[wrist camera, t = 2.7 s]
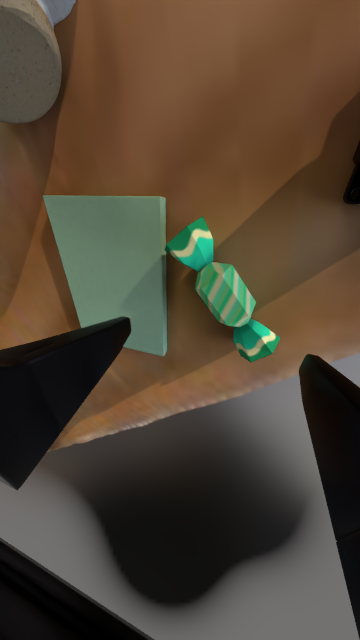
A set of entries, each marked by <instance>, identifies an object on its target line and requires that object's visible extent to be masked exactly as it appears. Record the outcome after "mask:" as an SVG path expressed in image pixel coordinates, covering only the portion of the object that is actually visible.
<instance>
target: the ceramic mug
mask: <svg viewBox="0 0 360 640" xmlns="http://www.w3.org/2000/svg"><path fill="white" fill-rule="evenodd" d="M75 2H76V0H0V122H4V123H8V124H22V123H28V122H32V121H34V120H37V119H38V118H40V117H42V116H43V115H45V114H46V113H47V112H48V110H49V109H50V108H51V107H52V105H53V104H54V102H55V100H56V98H57V96H58V93H59V90H60V85H61V77H62V62H61V55H60V50H59V46H58V43H57V39H56V36H55V33H54V25H56V24H57V23H58V22H60V21H62V20H63V19H65V18H66V17H67V16H68V15H69V14H70V12H71V10H72V7H73V5H74V4H75Z"/></svg>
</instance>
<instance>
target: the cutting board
mask: <svg viewBox="0 0 360 640" xmlns="http://www.w3.org/2000/svg"><path fill="white" fill-rule="evenodd" d="M43 199H44V202H45V206H46V209H47V212H48V216H49V219H50V223H51V226H52V229H53V233H54V236H55V240H56V243H57V247H58V250H59V253H60V257H61V260H62V264H63V267H64V270H65V274H66V277H67V281H68V284H69V287H70V291H71V294H72V298H73V301H74V304H75V308H76V311H77V315H78V318H79V321H80V325H81V328H84V327H87V326H90V325H94V324H97V323H101V322H104V321H108V320H111V319H114V318H118V317H121V316H125V317H129V318H130V322H131V334H130V336H129V337H128V339H127V341H126V342H125V344H124V346H123V347H126V348H130V349H134V350H138V351H142V352H147V353H151V354H155V355H159V356H164V355H165V353H166V351H167V297H166V251H165V250H164V249H165V247H166V199H165V198H164V197H160V196H49V195H43Z"/></svg>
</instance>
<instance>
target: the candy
mask: <svg viewBox="0 0 360 640" xmlns="http://www.w3.org/2000/svg"><path fill="white" fill-rule="evenodd" d="M164 250H165V251H166V252H168V253H169V254H170V255H172V256H173V257H174V258H176V259H177V260H178V261H180V262H181V263H182V264H184V265H186V266H188V267H190V268H192V269H194V270H196V271H198V274H197V280H196V285H195V290H196V292H197V293H198V294H199V296H200V297H201V298H202V300H203V301H204V303H205V304H206V305H207V307H208V308H209V310H210V311H211V312H212V314H213V315H214V316H215V318H216V319H217V321H218V322H220V323H223V324H225V325H227V326H234V340H233V341H234V343H235V345H236V347H237V349H238V351H239V353H240V355H241V356H242V357H244V358H245V359H247V360H248V361H250V362H253V361H256V360H258V359H260V358H263V357H265V356H268V355H270V354H273V352H274V350H275V348H276V346H277V344H278V342H279V340H280V337H278V336H277V335H276V334H274V333H273V332H272V331H270V330H269V329H268V328H266V327H265V326H263V325H262V324H260V323H259V322H257V321H255V320H253V319H251V318H250V317H251V314H252V312H253V309H254V307H255V304H256V301H255V300H254V298H253V297H252V295H251V294H250V292H249V291H248V289H247V287H246V286H245V284H244V283H243V281H242V280H241V278H240V277H239V275H238V273H237V272H236V270H235V269H234V267H233V266H232V265H231V264H224V263H217V262H213V238H212V235H211V233H210V231H209V229H208V227H207V224H206V222H205V220H204V218H203V216H202V217H201V218H199V219H198V220H196V221H194V222H193V223H191V224H190V225H188V226H187V227H186V228H184V229H183V230H182V231H181V232H180V233H179V234H178V235H177V236H175V237H174V238H173V239H172V240H171V241H170V242H169V243H168V244H166V247H165V249H164Z"/></svg>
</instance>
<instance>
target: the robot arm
mask: <svg viewBox="0 0 360 640" xmlns="http://www.w3.org/2000/svg"><path fill="white" fill-rule="evenodd" d="M353 162H354V164H355V168H354V170H353V173H352V175H351V178H350V180H349V183H348V185H347V188H346V190H345V193H344V196H343V200H344V202H345V203H347V204H360V141H359V144H358V147H357V149H356V152H355V154H354V157H353ZM354 190H358V195H357V197H356V198H354V199H352V197H351V194H352V192H353V191H354ZM130 334H131V322H130V318H129V317H125V316H121V317H118V318H114V319H111V320H108V321H104V322H101V323H97V324H94V325H90V326H87V327H84V328H80V329H77V330H73V331H70V332H67V333H63V334H60V335H56V336H53V337H49V338H46V339H42V340H39V341H35V342H31V343H27V344H23V345H19V346H15V347H11V348H6V349H2V350H0V481H1V482H3V483H5V484H7V485H8V486H10V487H12V488H14V489H16V490H18V489H19V488H20V487H21V486H22V484H23V483H24V482H25V480H26V479H27V478H28V476H29V475H30V474H31V472H32V471H33V470H34V468H35V467H36V466H37V464H38V463H39V462H40V460H41V459H42V457H43V456H44V455H45V453H46V452H47V451H48V449H49V448H50V447H51V445H52V444H53V443H54V441H55V440H56V438H57V437H58V436H59V434H60V433H61V432H62V430H63V428H64V427H65V426H66V425H67V423H68V422H69V421H70V419H71V418H72V417H73V415H74V414H75V413H76V411H77V410H78V409H79V407H80V406H81V404H82V403H83V402H84V400H85V399H86V398H87V396H88V395H89V394H90V392H91V391H92V390H93V388H94V387H95V385H96V384H97V383H98V381H99V380H100V379H101V377H102V376H103V375H104V373H105V372H106V371H107V369H108V368H109V367H110V365H111V364H112V362H113V361H114V360H115V358H116V357H117V356H118V354H119V353H120V351H121V349H122V348H123V346H124V344H125V342H126V341H127V339H128V337H129V336H130ZM299 376H300V385H301V394H302V402H303V406H304V411H305V415H306V419H307V423H308V428H309V432H310V435H311V440H312V444H313V448H314V452H315V457H316V460H317V465H318V469H319V473H320V477H321V481H322V485H323V489H324V494H325V497H326V502H327V506H328V510H329V514H330V518H331V522H332V527H333V531H334V535H335V539H336V541H337V542H336V544H337V548H338V552H339V556H340V560H341V564H342V569H343V573H344V577H345V581H346V585H347V589H348V593H349V597H350V601H351V606H352V610H353V614H354V618H355V622H356V626H357V630H358V634H359V638H360V388H359V387H358V386H357V385H356V384H354V383H353V382H352V381H350V380H349V379H348V378H346V377H345V376H344V375H342V374H341V373H340V372H338V371H337V370H336V369H335V368H333V367H332V366H330V365H329V364H328V363H327V362H325V361H324V360H323V359H322V358H320V357H319V356H316V355H311V354H307V355H306V356H305V358H304V360H303V362H302V364H301V366H300V368H299ZM0 640H154V639H153V638H151V637H150V636H148V635H147V634H145V633H144V632H142V631H141V630H139V629H137V628H136V627H134V626H133V625H132V624H130V623H129V622H127V621H126V620H124V619H122V618H121V617H119V616H118V615H116V614H115V613H113V612H112V611H110V610H109V609H107V608H106V607H104V606H103V605H101V604H100V603H98V602H97V601H95V600H94V599H92V598H91V597H89V596H88V595H86V594H85V593H83V592H82V591H80V590H79V589H77V588H76V587H74V586H73V585H71V584H70V583H68V582H67V581H65V580H63V579H62V578H60V577H59V576H57V575H56V574H54V573H53V572H51V571H50V570H48V569H47V568H45V567H44V566H42V565H41V564H39V563H38V562H36V561H35V560H33V559H32V558H30V557H29V556H27V555H26V554H24V553H23V552H21V551H20V550H18V549H16V548H15V547H14V546H12V545H11V544H9V543H8V542H6V541H4V540H3V539H1V538H0Z"/></svg>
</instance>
